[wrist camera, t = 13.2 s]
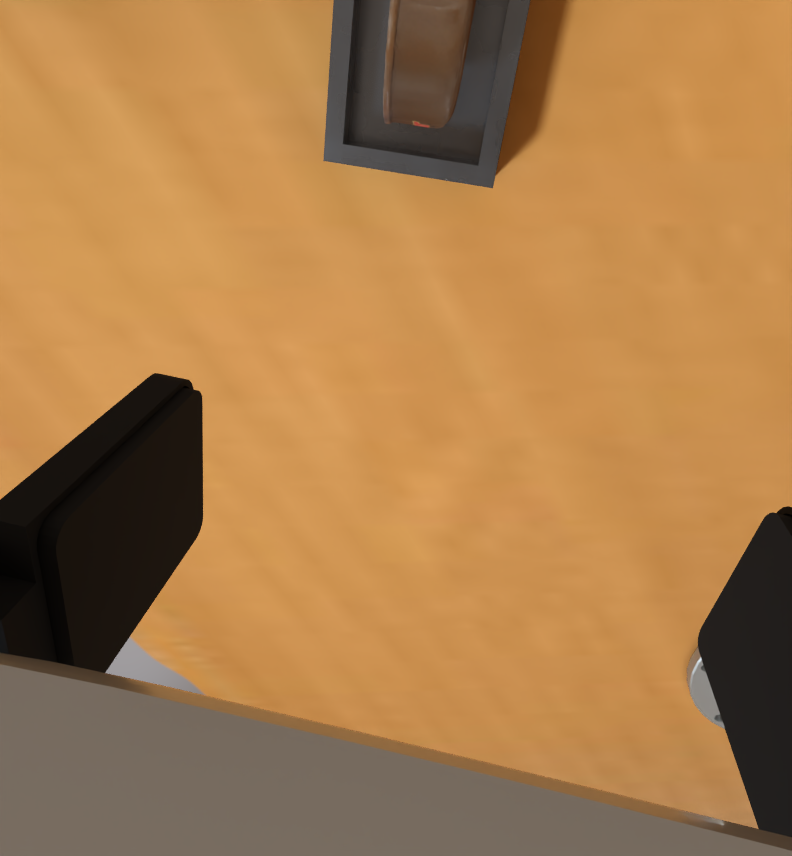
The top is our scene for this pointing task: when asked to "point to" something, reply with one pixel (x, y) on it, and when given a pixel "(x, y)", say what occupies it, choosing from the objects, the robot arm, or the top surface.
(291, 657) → the top surface
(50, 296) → the top surface
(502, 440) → the top surface
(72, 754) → the robot arm
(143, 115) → the top surface
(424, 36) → the tin
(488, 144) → the tray
